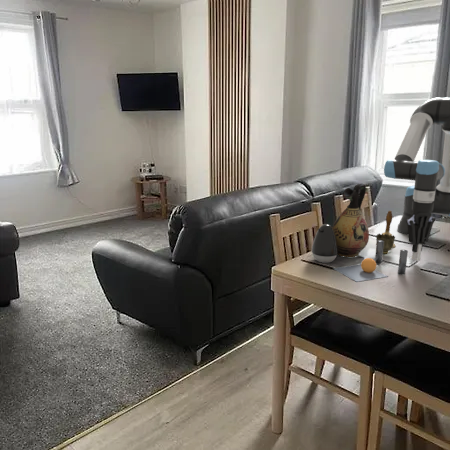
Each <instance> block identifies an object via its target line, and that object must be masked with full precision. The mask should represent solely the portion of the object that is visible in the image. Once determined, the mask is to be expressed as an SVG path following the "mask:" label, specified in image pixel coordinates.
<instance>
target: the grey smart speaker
mask: <svg viewBox="0 0 450 450" xmlns="http://www.w3.org/2000/svg"><path fill="white" fill-rule="evenodd" d="M332 227H333V225H330V224H328V223H324V224H322V225H321V226H320V227H319V228H318V229H317V231H316V234H315V236H314V238H313V242H312V245H311V253H312V257H313V258H314V260H315V261H317V262H319V263H321V262H322V264H329V263H331V262H333V261H335V259H336V257H337V256H338V255H337V254H338V245H337V239H336V234H335V231H334V229H333V228H332Z"/></svg>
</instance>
